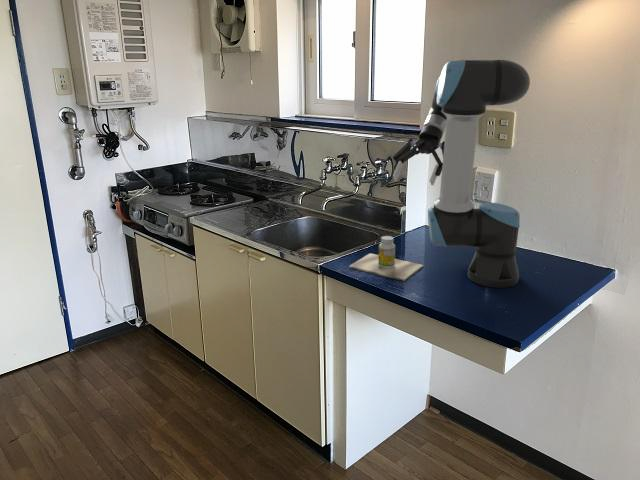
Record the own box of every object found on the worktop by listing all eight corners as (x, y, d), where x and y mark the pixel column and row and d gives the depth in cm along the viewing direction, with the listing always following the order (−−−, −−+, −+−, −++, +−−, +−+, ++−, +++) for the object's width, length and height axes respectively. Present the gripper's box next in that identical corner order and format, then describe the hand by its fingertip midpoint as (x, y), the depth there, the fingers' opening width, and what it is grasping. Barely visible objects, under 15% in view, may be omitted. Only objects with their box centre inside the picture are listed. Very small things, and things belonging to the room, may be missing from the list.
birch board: (422, 266, 171) (423, 264, 171) (404, 280, 160) (404, 279, 160) (369, 254, 182) (369, 253, 181) (349, 267, 171) (349, 265, 171)
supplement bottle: (394, 268, 168) (396, 240, 165) (378, 268, 168) (379, 240, 165) (394, 262, 173) (395, 235, 170) (378, 262, 173) (378, 235, 170)
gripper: (469, 140, 179) (450, 191, 172) (403, 135, 192) (383, 182, 186) (465, 126, 173) (445, 178, 166) (397, 122, 187) (376, 170, 180)
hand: (412, 180), depth 176 cm, fingers open, 13 cm apart
